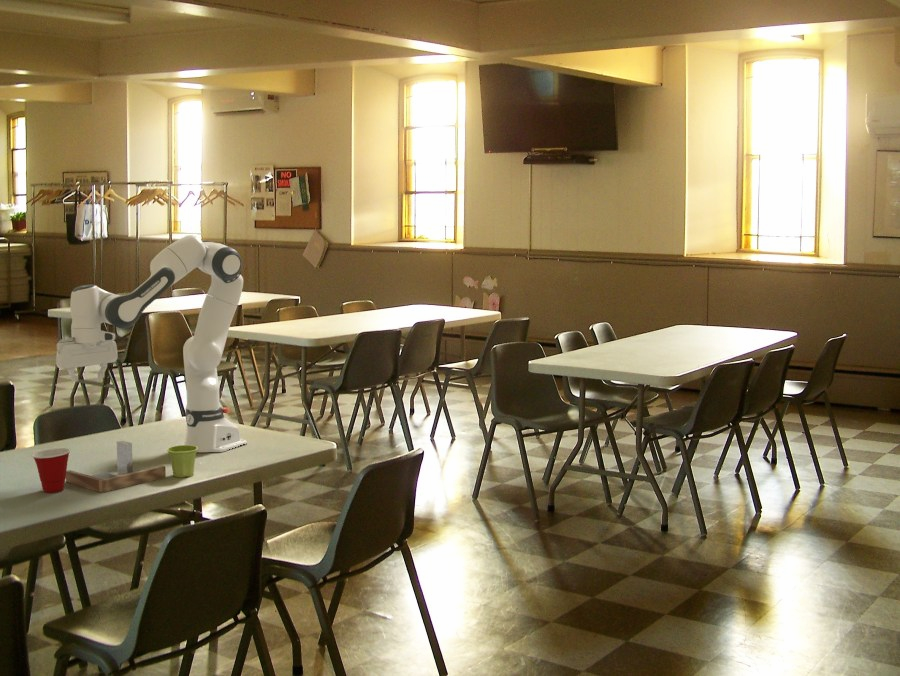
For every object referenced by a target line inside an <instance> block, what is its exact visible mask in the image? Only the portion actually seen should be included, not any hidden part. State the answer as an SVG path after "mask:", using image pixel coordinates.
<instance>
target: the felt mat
mask: <svg viewBox="0 0 900 676" xmlns="http://www.w3.org/2000/svg"><path fill="white" fill-rule="evenodd" d="M137 471H141V469H136V468H133V472H137ZM114 472H118V469H115V470H111V471H106V472H101V473H99V474H95V475H92V476H93V477H97V478H100V479H107V478H109V473H114Z"/></svg>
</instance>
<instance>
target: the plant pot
mask: <svg viewBox="0 0 900 676" xmlns="http://www.w3.org/2000/svg"><path fill="white" fill-rule="evenodd" d="M197 450H198V447H197V446H193V445H184V444H181V445H174V446H169V447H167V449H166V451H167V452H168V456H169V459H170V465H171V470H172V474H173V476H174V477H175V478H182V479H183V478H185V477H192V476H193V475H194V474H195V473H194V472H195V463H196V455H197V453H198V452H197Z"/></svg>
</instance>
